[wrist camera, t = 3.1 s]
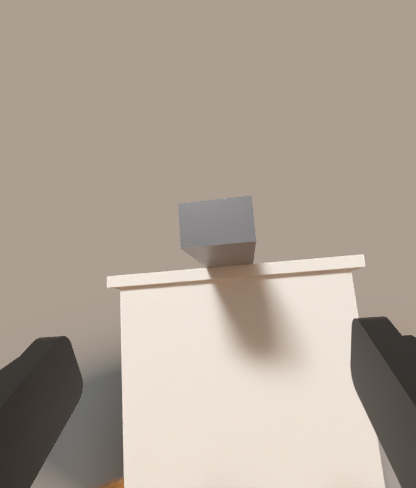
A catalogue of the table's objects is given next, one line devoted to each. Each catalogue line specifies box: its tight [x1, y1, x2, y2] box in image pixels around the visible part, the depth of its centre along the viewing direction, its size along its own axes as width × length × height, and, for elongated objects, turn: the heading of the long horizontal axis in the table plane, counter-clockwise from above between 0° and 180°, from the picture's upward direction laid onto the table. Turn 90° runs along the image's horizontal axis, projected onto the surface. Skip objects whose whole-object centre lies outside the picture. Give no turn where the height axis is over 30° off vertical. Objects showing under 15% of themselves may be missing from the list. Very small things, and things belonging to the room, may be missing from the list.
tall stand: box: [107, 255, 385, 488], centre depth 31 cm, size 22×14×32 cm, turn 83°
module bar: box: [179, 196, 256, 268], centre depth 29 cm, size 4×24×6 cm, turn 173°
